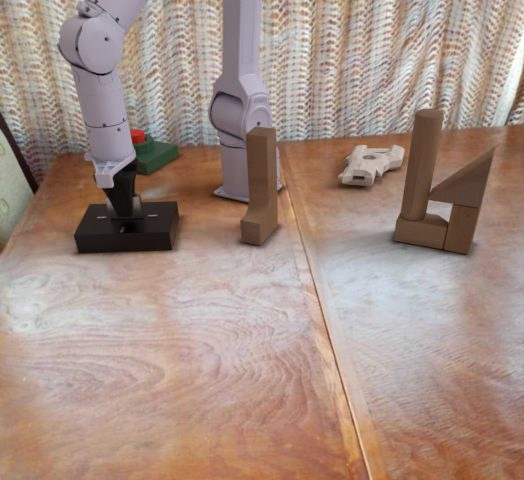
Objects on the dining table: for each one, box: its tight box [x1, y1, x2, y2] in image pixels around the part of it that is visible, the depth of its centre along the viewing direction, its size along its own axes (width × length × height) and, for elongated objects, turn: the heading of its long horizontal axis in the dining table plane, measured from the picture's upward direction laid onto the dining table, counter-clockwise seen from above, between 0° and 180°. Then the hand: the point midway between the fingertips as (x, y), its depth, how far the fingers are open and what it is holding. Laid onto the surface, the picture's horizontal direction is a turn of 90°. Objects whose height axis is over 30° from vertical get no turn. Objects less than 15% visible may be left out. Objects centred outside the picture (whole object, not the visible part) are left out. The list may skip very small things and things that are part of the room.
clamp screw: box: [104, 192, 144, 219], centre depth 80 cm, size 5×1×4 cm, turn 90°
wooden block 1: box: [239, 126, 279, 246], centre depth 78 cm, size 7×3×15 cm, turn 155°
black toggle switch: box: [73, 200, 180, 254], centre depth 83 cm, size 14×10×3 cm
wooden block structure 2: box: [393, 107, 497, 255], centre depth 73 cm, size 4×11×18 cm, turn 66°
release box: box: [133, 133, 180, 176], centre depth 105 cm, size 12×10×4 cm
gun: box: [338, 144, 406, 187], centre depth 97 cm, size 18×3×10 cm
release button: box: [130, 128, 145, 144], centre depth 103 cm, size 4×4×2 cm
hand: (126, 213), depth 81 cm, fingers closed on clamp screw
